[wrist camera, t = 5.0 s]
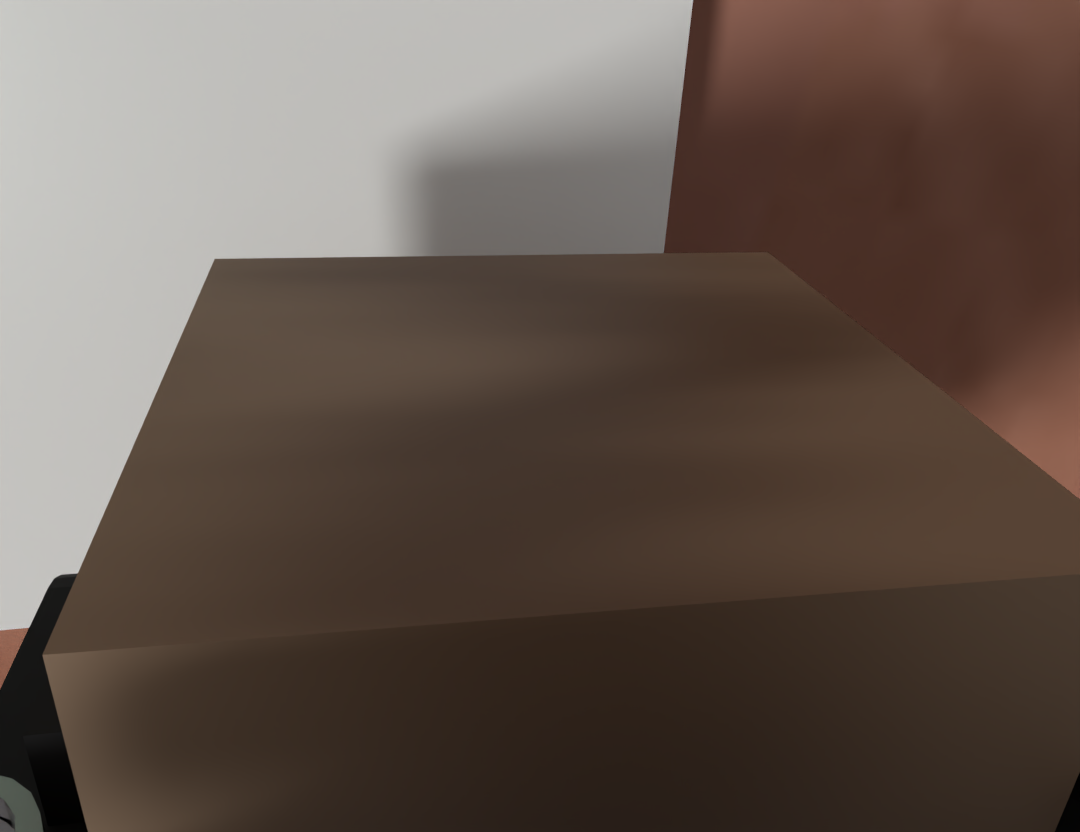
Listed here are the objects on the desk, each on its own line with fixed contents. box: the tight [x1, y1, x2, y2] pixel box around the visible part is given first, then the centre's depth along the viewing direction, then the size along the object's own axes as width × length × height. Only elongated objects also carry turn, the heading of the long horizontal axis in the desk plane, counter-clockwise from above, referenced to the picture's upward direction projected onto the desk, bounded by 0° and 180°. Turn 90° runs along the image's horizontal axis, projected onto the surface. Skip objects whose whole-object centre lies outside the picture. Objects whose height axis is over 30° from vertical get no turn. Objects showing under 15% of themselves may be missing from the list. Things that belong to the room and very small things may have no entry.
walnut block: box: [42, 252, 1080, 832], centre depth 9 cm, size 6×6×6 cm
